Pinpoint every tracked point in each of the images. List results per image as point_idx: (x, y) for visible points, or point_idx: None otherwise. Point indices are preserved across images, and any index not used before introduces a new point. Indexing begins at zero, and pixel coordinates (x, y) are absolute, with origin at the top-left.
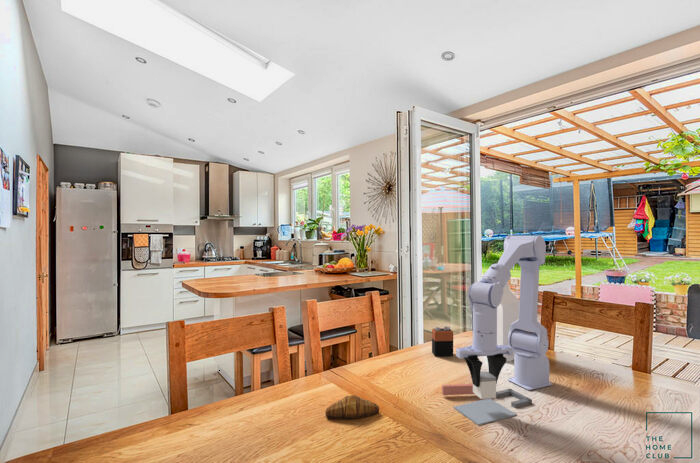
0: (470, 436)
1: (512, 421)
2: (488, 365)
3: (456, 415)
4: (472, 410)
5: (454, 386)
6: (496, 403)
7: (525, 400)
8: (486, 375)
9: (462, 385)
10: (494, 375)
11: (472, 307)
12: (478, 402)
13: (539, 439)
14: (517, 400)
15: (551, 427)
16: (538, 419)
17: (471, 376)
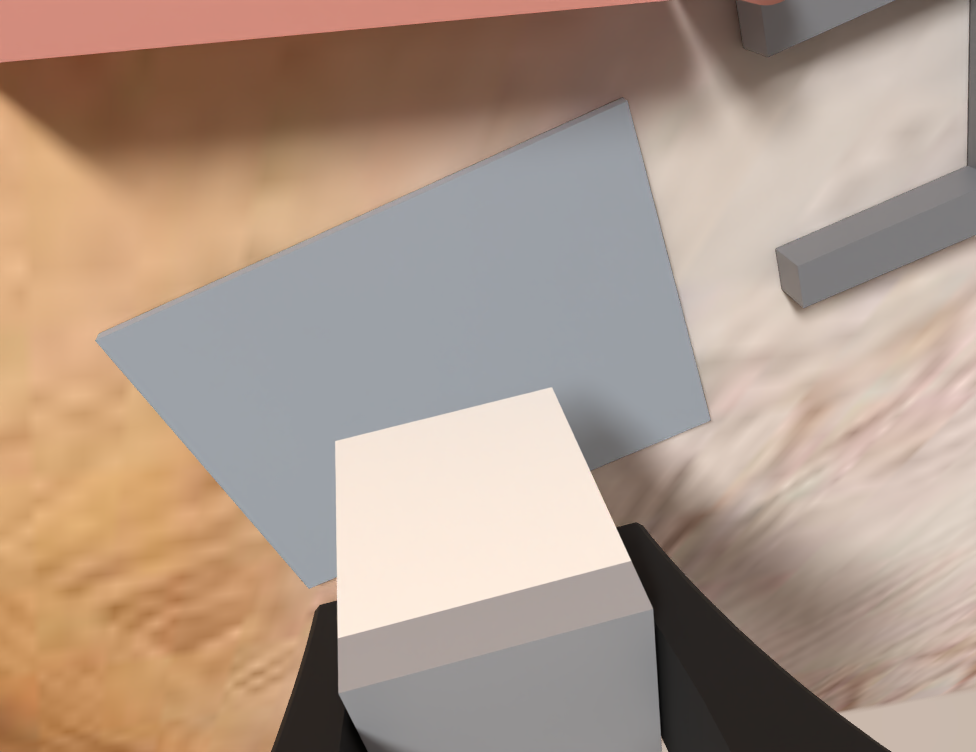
0: (214, 690)
1: (613, 498)
2: (724, 744)
3: (128, 467)
4: (313, 398)
5: (87, 51)
6: (641, 235)
7: (969, 223)
8: (547, 747)
9: (253, 22)
10: (672, 747)
11: None
12: (439, 222)
13: None
14: (887, 227)
15: (834, 532)
16: (832, 451)
17: (292, 707)
